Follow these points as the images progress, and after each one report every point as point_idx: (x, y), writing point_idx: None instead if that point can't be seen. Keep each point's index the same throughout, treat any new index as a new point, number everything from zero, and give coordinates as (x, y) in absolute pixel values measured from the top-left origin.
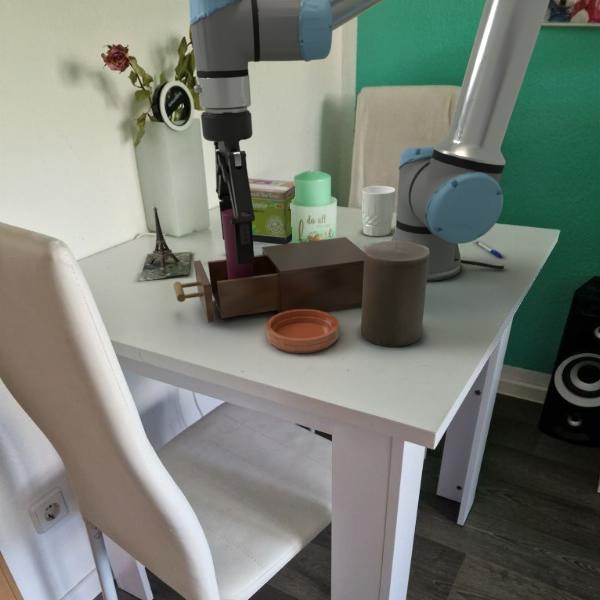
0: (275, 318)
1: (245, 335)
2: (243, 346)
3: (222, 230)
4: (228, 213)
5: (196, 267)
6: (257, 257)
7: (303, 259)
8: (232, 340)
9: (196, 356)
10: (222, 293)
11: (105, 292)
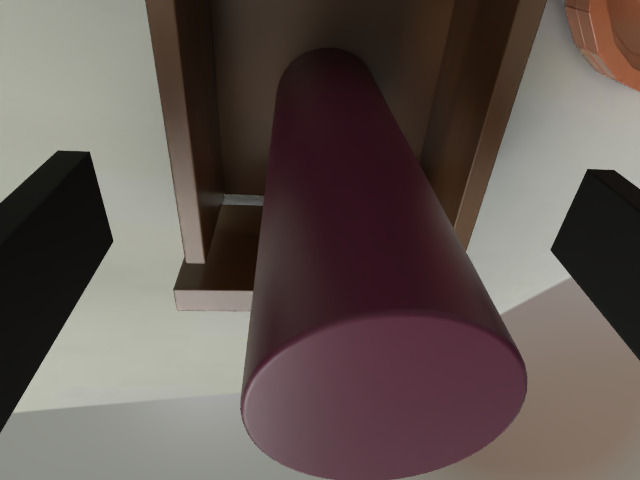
0: (612, 39)
1: (532, 135)
2: (591, 157)
3: (86, 279)
4: (405, 453)
5: None
6: (176, 4)
7: None
8: (536, 177)
9: (553, 266)
10: None
11: (89, 396)
